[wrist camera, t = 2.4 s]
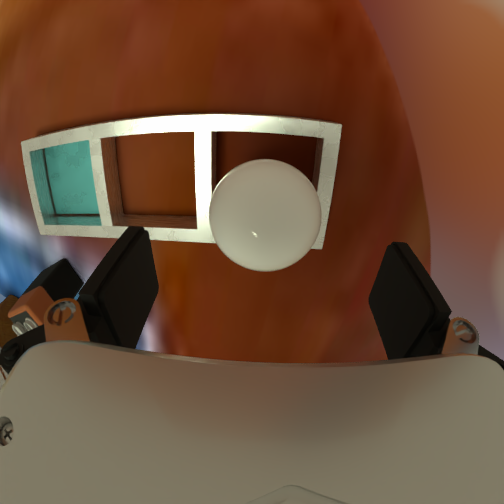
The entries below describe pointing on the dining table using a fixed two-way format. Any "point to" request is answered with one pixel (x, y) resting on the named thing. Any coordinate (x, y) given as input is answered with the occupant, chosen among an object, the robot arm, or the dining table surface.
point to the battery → (44, 296)
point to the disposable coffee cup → (6, 320)
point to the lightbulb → (265, 215)
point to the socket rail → (107, 178)
